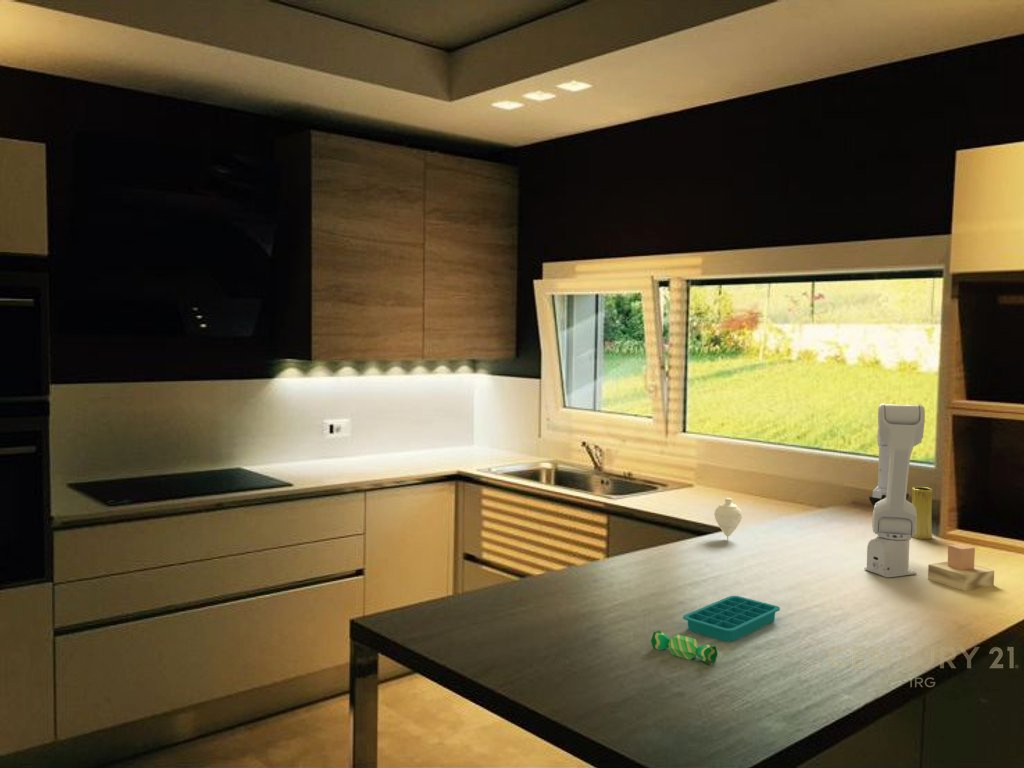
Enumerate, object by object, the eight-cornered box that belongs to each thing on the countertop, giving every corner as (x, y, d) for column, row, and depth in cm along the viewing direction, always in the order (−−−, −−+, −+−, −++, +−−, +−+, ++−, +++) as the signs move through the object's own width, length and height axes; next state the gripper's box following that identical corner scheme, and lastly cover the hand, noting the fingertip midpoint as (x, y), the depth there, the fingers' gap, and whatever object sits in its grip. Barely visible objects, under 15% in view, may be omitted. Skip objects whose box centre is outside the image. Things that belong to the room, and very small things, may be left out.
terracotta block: (961, 569, 203) (961, 549, 203) (947, 565, 207) (948, 545, 207) (974, 568, 205) (974, 547, 204) (960, 564, 208) (961, 543, 208)
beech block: (964, 592, 199) (965, 575, 199) (927, 580, 208) (928, 564, 208) (993, 587, 203) (994, 570, 203) (956, 575, 212) (956, 559, 212)
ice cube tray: (680, 631, 173) (680, 616, 173) (733, 608, 188) (733, 594, 187) (730, 646, 165) (730, 631, 165) (782, 621, 179) (782, 607, 179)
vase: (927, 534, 252) (929, 486, 251) (935, 539, 246) (937, 490, 245) (905, 533, 253) (907, 486, 252) (913, 539, 247) (915, 490, 246)
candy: (648, 646, 162) (655, 625, 164) (656, 652, 164) (663, 631, 166) (705, 663, 154) (712, 641, 156) (712, 669, 156) (719, 647, 158)
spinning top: (708, 538, 248) (709, 497, 247) (729, 535, 251) (730, 494, 250) (725, 544, 241) (726, 502, 240) (747, 541, 244) (748, 499, 243)
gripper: (892, 475, 219) (890, 528, 220) (917, 469, 229) (915, 519, 230) (865, 472, 225) (864, 523, 226) (891, 466, 234) (889, 515, 235)
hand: (888, 521), depth 228 cm, fingers open, 7 cm apart
